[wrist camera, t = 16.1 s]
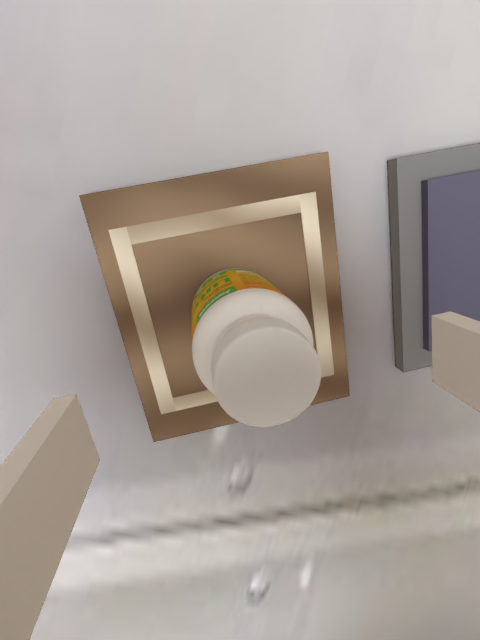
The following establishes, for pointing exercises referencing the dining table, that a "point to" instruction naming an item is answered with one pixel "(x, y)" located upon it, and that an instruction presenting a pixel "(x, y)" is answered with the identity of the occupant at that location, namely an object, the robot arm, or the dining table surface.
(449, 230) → the ink pad
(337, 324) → the marking board
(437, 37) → the dining table surface
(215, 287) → the supplement bottle
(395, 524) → the dining table surface
